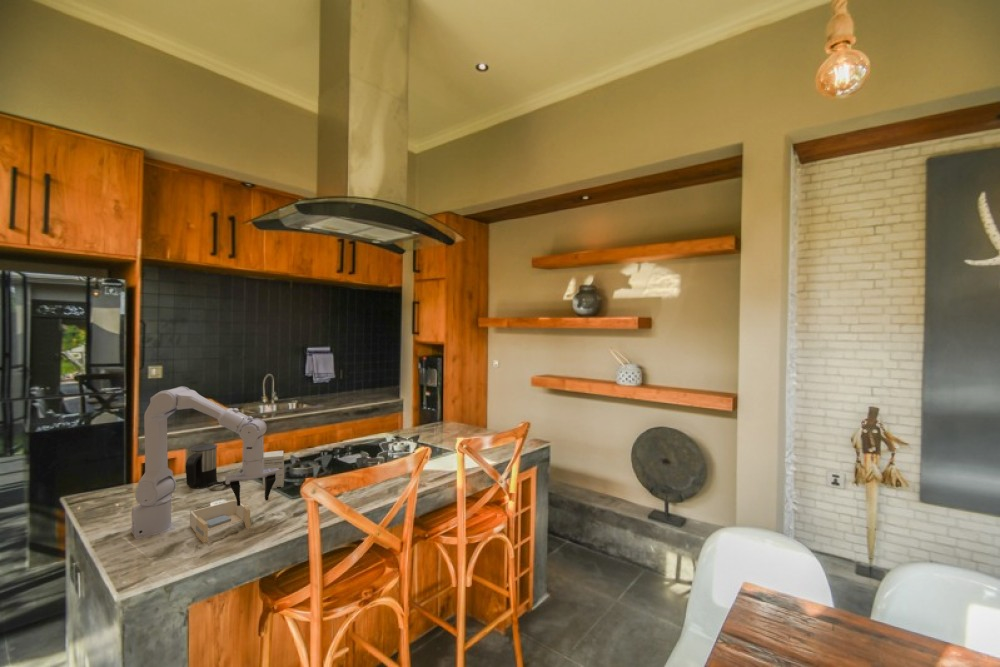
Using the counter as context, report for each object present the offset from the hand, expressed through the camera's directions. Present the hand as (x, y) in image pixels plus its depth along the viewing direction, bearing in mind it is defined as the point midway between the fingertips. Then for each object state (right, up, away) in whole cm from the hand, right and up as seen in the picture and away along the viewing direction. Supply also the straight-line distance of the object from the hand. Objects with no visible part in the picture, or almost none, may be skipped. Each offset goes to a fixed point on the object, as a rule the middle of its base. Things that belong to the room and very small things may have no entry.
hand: (252, 502), depth 138 cm
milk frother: (-35, -7, +34) cm, 49 cm away
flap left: (-10, -8, -8) cm, 15 cm away
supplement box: (-12, -7, +35) cm, 37 cm away
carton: (-12, -8, +2) cm, 14 cm away
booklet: (-12, -7, +2) cm, 14 cm away
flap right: (-2, -8, +1) cm, 8 cm away
